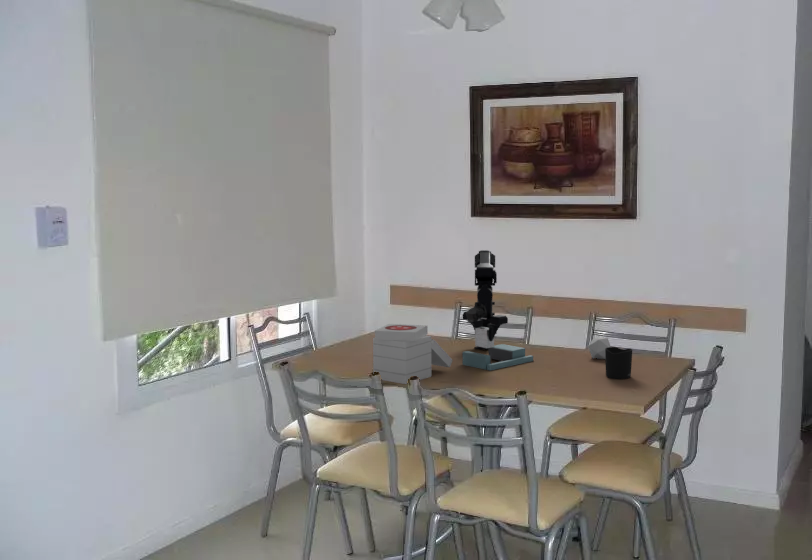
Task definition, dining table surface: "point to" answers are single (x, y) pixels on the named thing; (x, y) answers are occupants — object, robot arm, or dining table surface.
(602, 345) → the die
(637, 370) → the dining table surface
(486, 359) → the vise body
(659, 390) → the dining table surface
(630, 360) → the pen holder
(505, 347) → the block
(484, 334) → the steel block
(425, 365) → the pizza boxes
